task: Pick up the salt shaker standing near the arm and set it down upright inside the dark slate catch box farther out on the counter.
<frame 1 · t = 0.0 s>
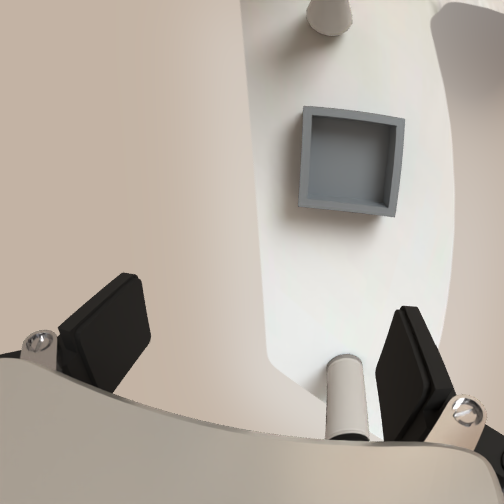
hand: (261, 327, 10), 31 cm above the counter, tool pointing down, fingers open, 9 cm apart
travel mug: (345, 365, 48), on the counter
catch box: (348, 158, 36), on the counter
salt shaker: (328, 23, 30), on the counter
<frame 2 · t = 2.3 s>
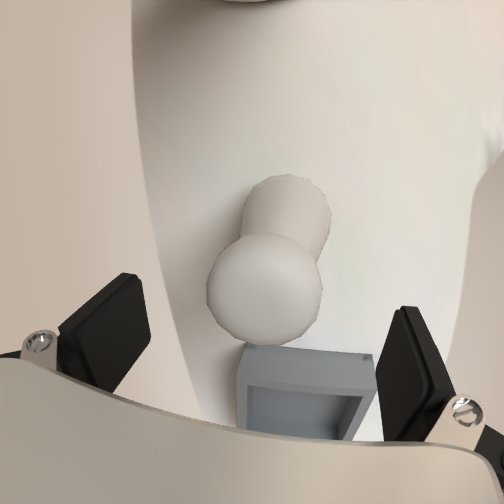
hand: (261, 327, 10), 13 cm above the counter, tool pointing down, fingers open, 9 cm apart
catch box: (302, 390, 29), on the counter
salt shaker: (289, 207, 22), on the counter
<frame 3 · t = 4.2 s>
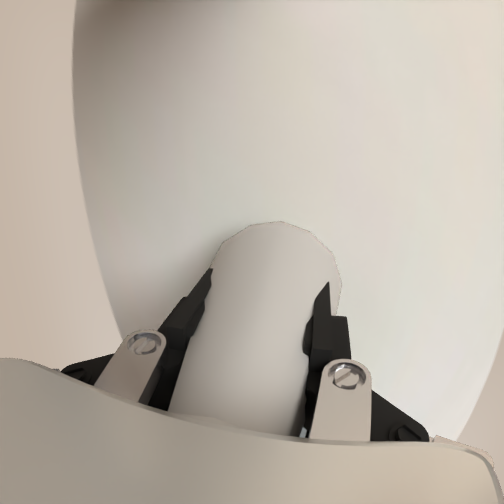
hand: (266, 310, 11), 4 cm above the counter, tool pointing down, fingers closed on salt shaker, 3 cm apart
salt shaker: (280, 263, 15), on the counter, touching gripper
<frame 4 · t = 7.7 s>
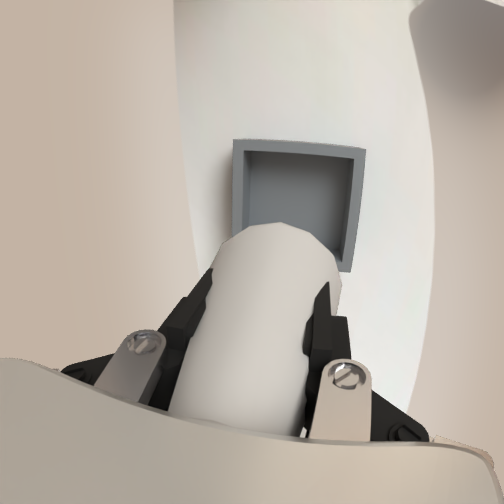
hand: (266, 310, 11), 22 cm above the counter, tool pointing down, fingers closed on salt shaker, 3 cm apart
catch box: (297, 197, 32), on the counter
salt shaker: (280, 264, 15), point 18 cm above the counter, touching gripper
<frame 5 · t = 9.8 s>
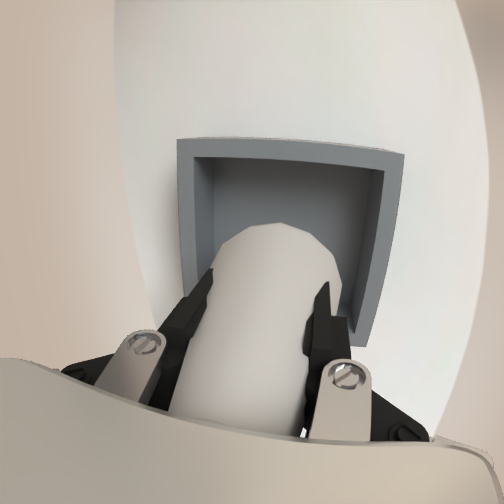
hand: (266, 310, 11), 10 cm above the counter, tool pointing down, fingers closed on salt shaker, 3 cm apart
catch box: (288, 227, 21), on the counter
salt shaker: (280, 264, 15), point 6 cm above the counter, touching gripper
when the fingers open (7 cm above the counter, at t = 11.2 s): salt shaker drops 2 cm, resting on catch box.
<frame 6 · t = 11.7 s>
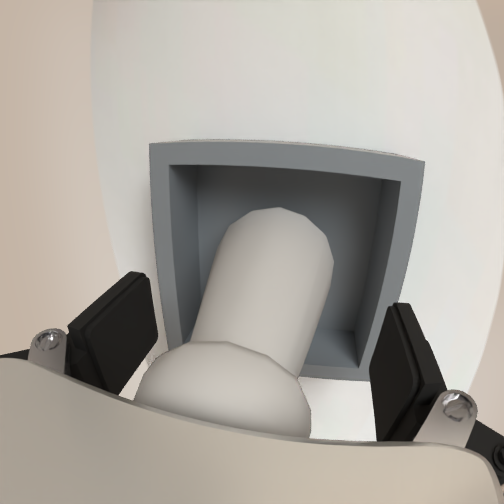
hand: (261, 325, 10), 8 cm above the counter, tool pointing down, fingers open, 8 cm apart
catch box: (284, 244, 18), on the counter
salt shaker: (279, 247, 17), point 1 cm above the counter, touching catch box
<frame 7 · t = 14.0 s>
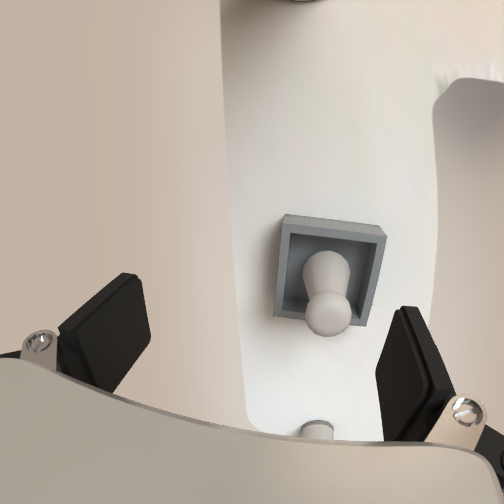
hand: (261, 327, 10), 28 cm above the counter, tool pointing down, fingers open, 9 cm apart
travel mug: (318, 427, 50), on the counter
catch box: (326, 264, 39), on the counter
salt shaker: (325, 265, 38), point 1 cm above the counter, touching catch box
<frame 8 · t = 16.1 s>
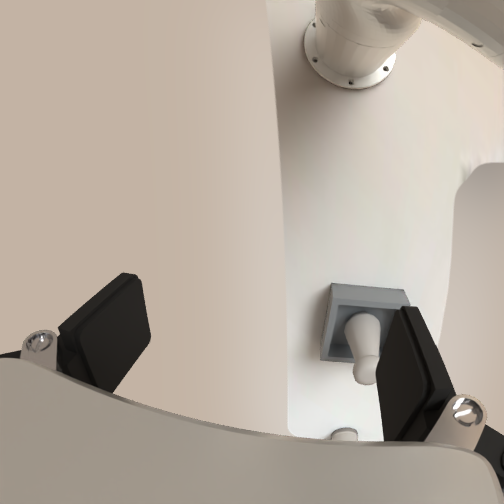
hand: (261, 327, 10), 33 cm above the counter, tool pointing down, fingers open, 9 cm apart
travel mug: (345, 433, 59), on the counter
catch box: (361, 318, 47), on the counter
salt shaker: (360, 320, 46), point 1 cm above the counter, touching catch box
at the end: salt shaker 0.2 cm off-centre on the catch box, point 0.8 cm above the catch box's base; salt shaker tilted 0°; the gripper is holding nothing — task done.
